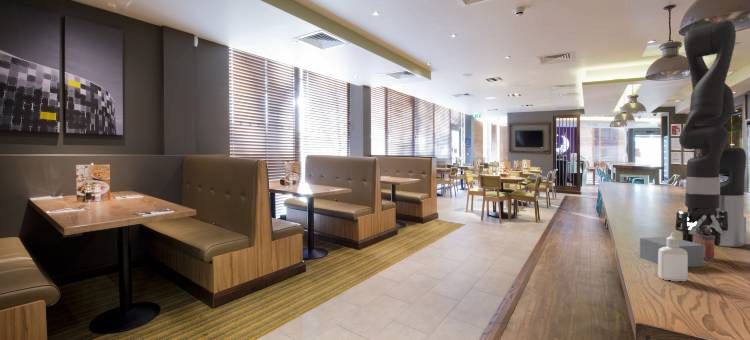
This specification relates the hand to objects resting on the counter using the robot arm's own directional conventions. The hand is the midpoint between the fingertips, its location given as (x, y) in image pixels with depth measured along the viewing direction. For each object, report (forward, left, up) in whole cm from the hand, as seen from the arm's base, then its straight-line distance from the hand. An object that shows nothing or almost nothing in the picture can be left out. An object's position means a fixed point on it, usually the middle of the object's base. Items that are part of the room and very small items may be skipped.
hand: (701, 245), depth 103 cm
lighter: (0, 0, -4) cm, 4 cm away
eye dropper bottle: (+24, +15, -4) cm, 28 cm away
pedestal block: (+12, +2, -4) cm, 12 cm away
